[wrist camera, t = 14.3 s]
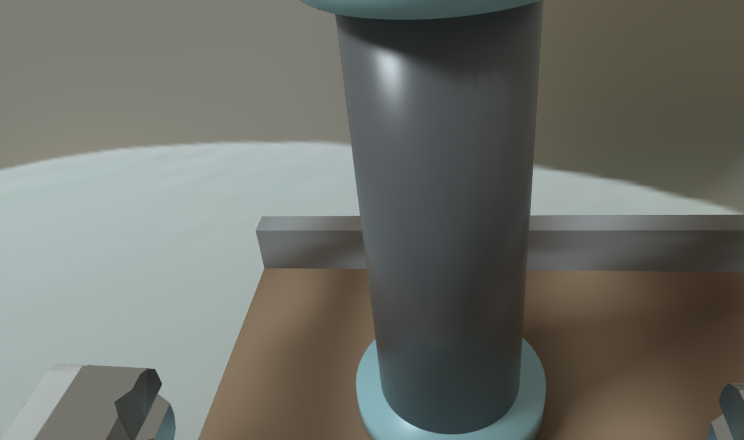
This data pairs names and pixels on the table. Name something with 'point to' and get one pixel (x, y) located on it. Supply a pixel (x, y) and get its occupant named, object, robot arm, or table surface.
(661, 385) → the shelf block
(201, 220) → the table surface
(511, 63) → the cord spool
